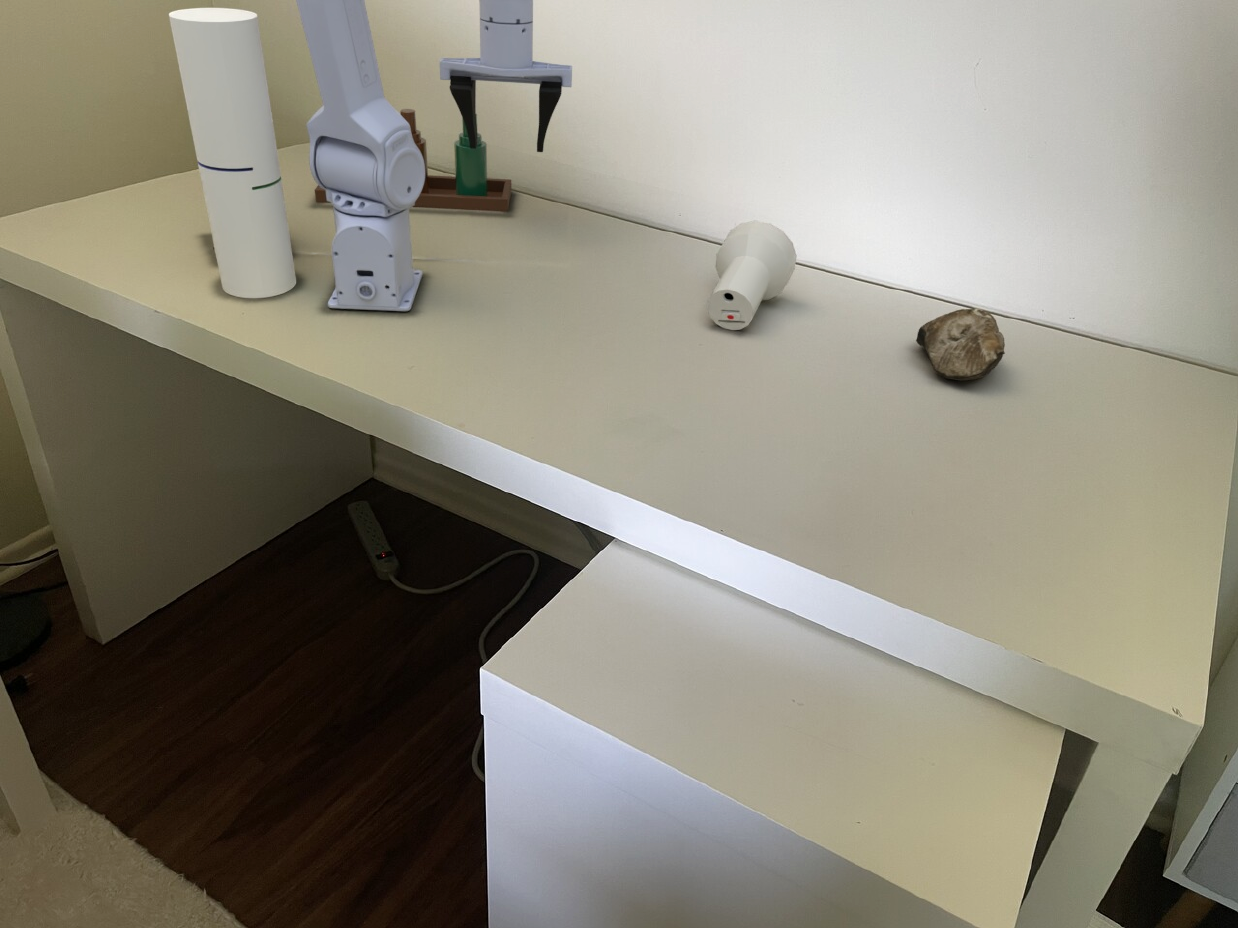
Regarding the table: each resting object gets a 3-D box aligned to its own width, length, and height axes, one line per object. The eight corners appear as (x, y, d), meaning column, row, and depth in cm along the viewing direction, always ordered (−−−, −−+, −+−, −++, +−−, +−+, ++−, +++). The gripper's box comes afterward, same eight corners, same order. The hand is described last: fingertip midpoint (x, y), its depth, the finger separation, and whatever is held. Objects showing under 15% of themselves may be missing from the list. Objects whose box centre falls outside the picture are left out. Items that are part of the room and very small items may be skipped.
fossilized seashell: (1018, 376, 82) (1005, 346, 90) (995, 308, 80) (985, 284, 89) (933, 403, 85) (929, 371, 93) (910, 338, 83) (908, 311, 92)
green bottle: (486, 204, 116) (484, 119, 110) (454, 203, 116) (451, 117, 110) (488, 194, 119) (487, 111, 113) (457, 193, 119) (454, 109, 113)
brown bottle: (426, 202, 115) (422, 115, 109) (394, 200, 115) (388, 113, 109) (431, 191, 119) (426, 107, 113) (399, 190, 118) (393, 105, 112)
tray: (507, 215, 115) (507, 199, 113) (316, 205, 113) (314, 190, 112) (511, 194, 121) (511, 179, 120) (330, 185, 120) (329, 170, 118)
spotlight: (800, 286, 98) (795, 218, 93) (772, 347, 91) (765, 277, 85) (728, 283, 101) (720, 217, 96) (696, 342, 94) (685, 274, 89)
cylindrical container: (218, 274, 94) (166, 8, 80) (290, 266, 97) (251, 8, 83) (226, 302, 89) (171, 22, 75) (301, 293, 92) (262, 22, 78)
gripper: (573, 18, 102) (569, 142, 110) (443, 9, 101) (448, 135, 109) (573, 29, 96) (569, 159, 104) (434, 20, 95) (440, 152, 103)
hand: (507, 148), depth 106 cm, fingers open, 7 cm apart
